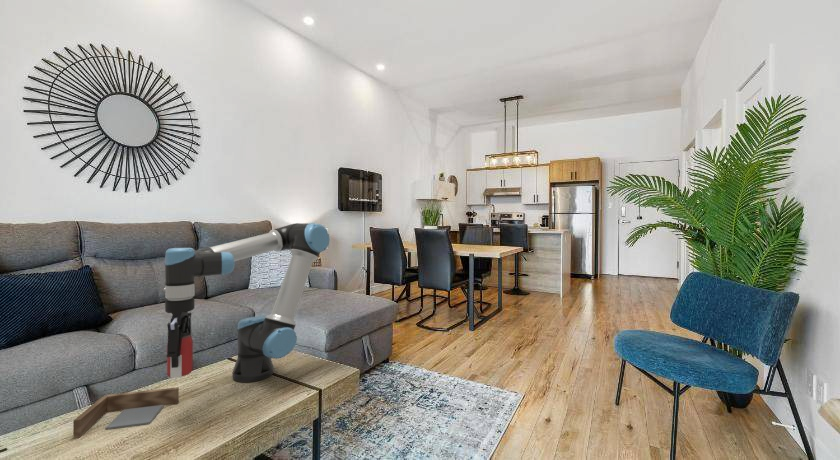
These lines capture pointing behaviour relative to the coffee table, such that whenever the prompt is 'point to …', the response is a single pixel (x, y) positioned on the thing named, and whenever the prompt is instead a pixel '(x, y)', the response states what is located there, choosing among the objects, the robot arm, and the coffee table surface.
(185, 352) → the beer can
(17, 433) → the coffee table surface
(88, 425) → the wooden corner frame
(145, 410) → the coaster
